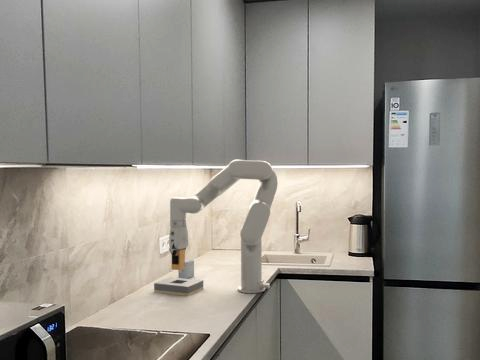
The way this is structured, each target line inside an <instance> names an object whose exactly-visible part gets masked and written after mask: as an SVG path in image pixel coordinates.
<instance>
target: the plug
mask: <svg viewBox="0 0 480 360" xmlns="http://www.w3.org/2000/svg"><path fill="white" fill-rule="evenodd" d="M174 249H176V248H175V247H174ZM174 251H175V252H176V250H174ZM178 256H179V264H178V265H177V264H172V263H171V270H172V271H178V270H182V269H185V260H186V257H185V256H186V250H185V248H183V249H178Z"/></svg>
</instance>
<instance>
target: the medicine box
mask: <svg viewBox="0 0 480 360" xmlns="http://www.w3.org/2000/svg"><path fill="white" fill-rule="evenodd" d="M177 272H178V273H177V274H178V276H177V278H185V279H191V278H194V277H193V276H195V261H194V260H192V259H185V269H182V270H177Z"/></svg>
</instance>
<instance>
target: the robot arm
mask: <svg viewBox="0 0 480 360" xmlns="http://www.w3.org/2000/svg"><path fill="white" fill-rule="evenodd" d="M240 180H257V181H258V183H259V184H258V188H257V190H256V192H255V195H254V198H253V201H252V203H251V204H250V205H249V209H248V212H247V215H246V217H245V219H244V222H243V225H242V226H241V228H240V285H239V286H237V291H238V292H239V293H245V294H259V293H263V292H265V291H266V289H270V288H271V284H270V283H269V282H268V283H265V282H264V281H265V280H264V279H263V278H262V277H263V276H262V273H263V272H262V269H263V267H262V264H263V263H262V256H263V255H262V252H263V251H262V248H263V247H262V237H263V234H264V232H265V229H266V227H267V224H268V222H269V219H270V216H271V207H272V205H273V202H274V199H275V195H276V192H277V190H278V184H279V183H278V176H277V173H276V171H275V170H274V169H273V167H272V165H271V163H269V161H268V162H267V161H264V160H252V159H251V160H248V159H247V160H246V159H233V160H232V161H230V162H229V164H227V165H226V166H225V167H224V168H222V170H221V171H220V172H218V173H217V174H216V175H214V176H213V177H212V178H211V179H210V180H209V181H208V183H207V184H206V185H205V186H204V187H203V188H201V190H199V191H198V192H197V193H196V194H195V195H194V196H192V197H182V196H180V197H179V196H176V197H175V196H174V197H171V198H170V199H169V201H170V203H169V206H170V209H169V218H170V220H169V227H170V229H169V235H168V236H169V238H168V239H169V240H168V244H169V245H168V246H169V248H168V251H169V252H170V254H171V255H170V256H171V265H172V264H177V265H178V264H179V256H178V249H183V248H185V251H186V249H187V248H188V247H189V233H188V227H187V214H193V215H194V214H198V213H200V212H201V211H203V209H205V208H206V207H207V206H208V205H209V204H211V203H212V202H213V201H214V200H216V199H217V198H218V197H219V196H221V195H223V194H224V193H226V192H227V190H229V189H230V188H231V187H232V186H234V184H236V183H237V182H238V181H240ZM174 247H175V248H176V249H174ZM174 250H176V252H175V251H174Z"/></svg>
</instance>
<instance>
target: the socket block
mask: <svg viewBox="0 0 480 360" xmlns="http://www.w3.org/2000/svg"><path fill="white" fill-rule="evenodd" d="M153 286H154V287H153V288H154V289H153V291H154V293H160V294H170V295H176V296H178V295H179V296H191V295H193V294H196V293H198V292H199V290H200V291H202V290H204V279H195V278H194V279H193V278H187V279H185V278H178V277H175V276H173V277H171V276H169V277H167V278H165V279H162V280H159V281H157V282H153ZM197 291H198V292H197Z"/></svg>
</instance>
